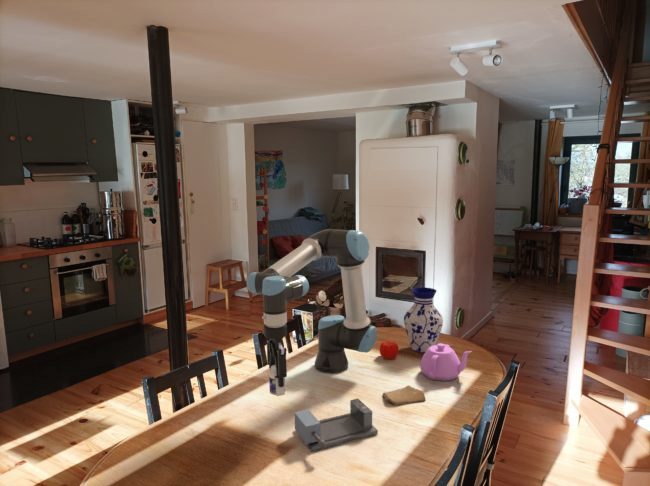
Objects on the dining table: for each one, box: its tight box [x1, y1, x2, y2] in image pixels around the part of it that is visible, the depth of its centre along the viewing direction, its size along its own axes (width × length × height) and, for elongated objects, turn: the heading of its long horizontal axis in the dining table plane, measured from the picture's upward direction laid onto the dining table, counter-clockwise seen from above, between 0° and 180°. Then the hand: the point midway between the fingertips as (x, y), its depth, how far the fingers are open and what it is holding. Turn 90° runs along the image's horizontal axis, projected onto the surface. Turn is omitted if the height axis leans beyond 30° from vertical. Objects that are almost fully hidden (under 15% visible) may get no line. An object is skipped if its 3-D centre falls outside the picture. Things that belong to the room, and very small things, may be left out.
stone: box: [382, 385, 426, 406], centre depth 183 cm, size 11×16×3 cm
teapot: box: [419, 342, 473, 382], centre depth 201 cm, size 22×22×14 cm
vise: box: [295, 398, 379, 453], centre depth 158 cm, size 14×24×8 cm, turn 115°
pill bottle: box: [268, 365, 286, 396], centre depth 156 cm, size 5×5×9 cm
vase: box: [403, 286, 444, 354], centre depth 231 cm, size 19×19×30 cm
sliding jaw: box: [294, 408, 325, 448], centre depth 150 cm, size 18×5×6 cm, turn 25°
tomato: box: [379, 340, 399, 360], centre depth 222 cm, size 9×9×8 cm
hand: (277, 390), depth 156 cm, fingers closed on pill bottle, 5 cm apart
